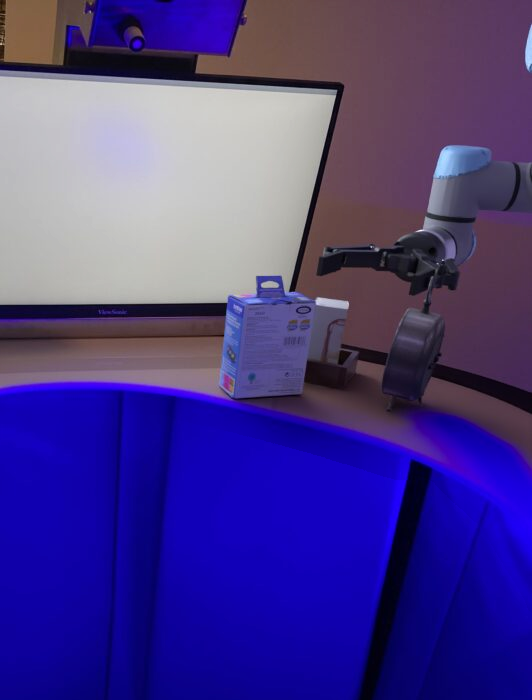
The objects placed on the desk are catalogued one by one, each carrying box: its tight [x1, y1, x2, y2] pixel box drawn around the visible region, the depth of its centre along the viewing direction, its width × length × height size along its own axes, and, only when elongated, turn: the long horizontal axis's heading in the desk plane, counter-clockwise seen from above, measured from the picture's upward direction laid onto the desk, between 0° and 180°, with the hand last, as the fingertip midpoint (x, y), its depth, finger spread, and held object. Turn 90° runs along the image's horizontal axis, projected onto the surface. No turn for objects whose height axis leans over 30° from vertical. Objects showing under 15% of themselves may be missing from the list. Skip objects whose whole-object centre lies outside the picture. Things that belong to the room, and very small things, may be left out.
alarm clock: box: [380, 276, 446, 413], centre depth 103 cm, size 11×5×16 cm, turn 149°
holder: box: [304, 347, 360, 390], centre depth 115 cm, size 8×8×3 cm
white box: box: [307, 296, 350, 364], centre depth 114 cm, size 5×4×10 cm
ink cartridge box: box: [218, 275, 316, 400], centre depth 106 cm, size 10×6×14 cm, turn 106°
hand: (365, 275), depth 117 cm, fingers open, 13 cm apart
